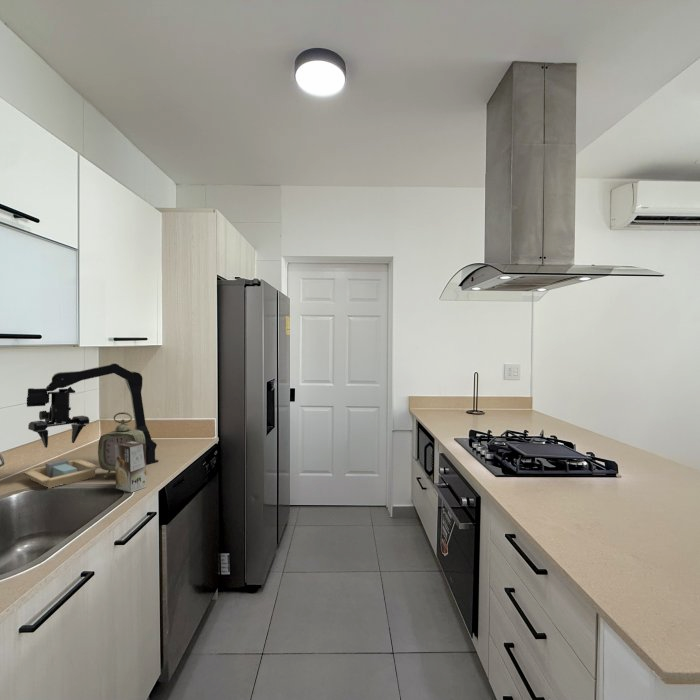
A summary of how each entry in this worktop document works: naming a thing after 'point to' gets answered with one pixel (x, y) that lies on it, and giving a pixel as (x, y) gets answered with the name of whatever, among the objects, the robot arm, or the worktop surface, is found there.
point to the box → (59, 468)
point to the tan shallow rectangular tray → (83, 473)
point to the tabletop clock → (110, 439)
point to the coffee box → (130, 465)
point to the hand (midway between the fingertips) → (59, 445)
